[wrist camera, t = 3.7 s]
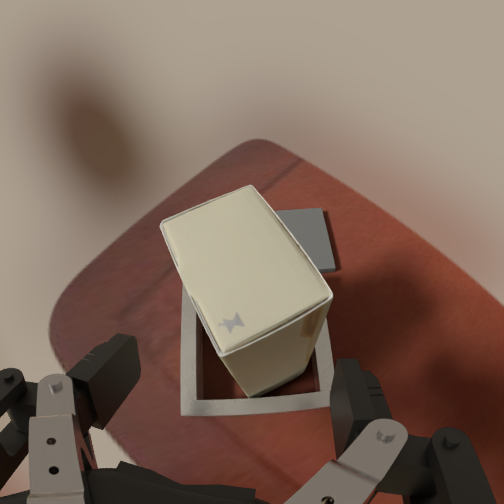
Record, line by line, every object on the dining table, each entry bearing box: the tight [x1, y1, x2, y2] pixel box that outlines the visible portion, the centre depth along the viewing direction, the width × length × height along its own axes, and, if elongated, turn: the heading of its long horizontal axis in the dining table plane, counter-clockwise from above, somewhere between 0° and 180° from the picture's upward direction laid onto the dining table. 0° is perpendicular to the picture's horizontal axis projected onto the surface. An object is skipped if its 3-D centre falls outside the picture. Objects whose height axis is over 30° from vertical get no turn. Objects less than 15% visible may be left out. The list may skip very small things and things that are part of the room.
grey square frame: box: [181, 268, 334, 417], centre depth 20 cm, size 10×10×2 cm
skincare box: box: [160, 185, 333, 398], centre depth 16 cm, size 6×4×12 cm
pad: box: [275, 208, 336, 273], centre depth 25 cm, size 6×6×1 cm
